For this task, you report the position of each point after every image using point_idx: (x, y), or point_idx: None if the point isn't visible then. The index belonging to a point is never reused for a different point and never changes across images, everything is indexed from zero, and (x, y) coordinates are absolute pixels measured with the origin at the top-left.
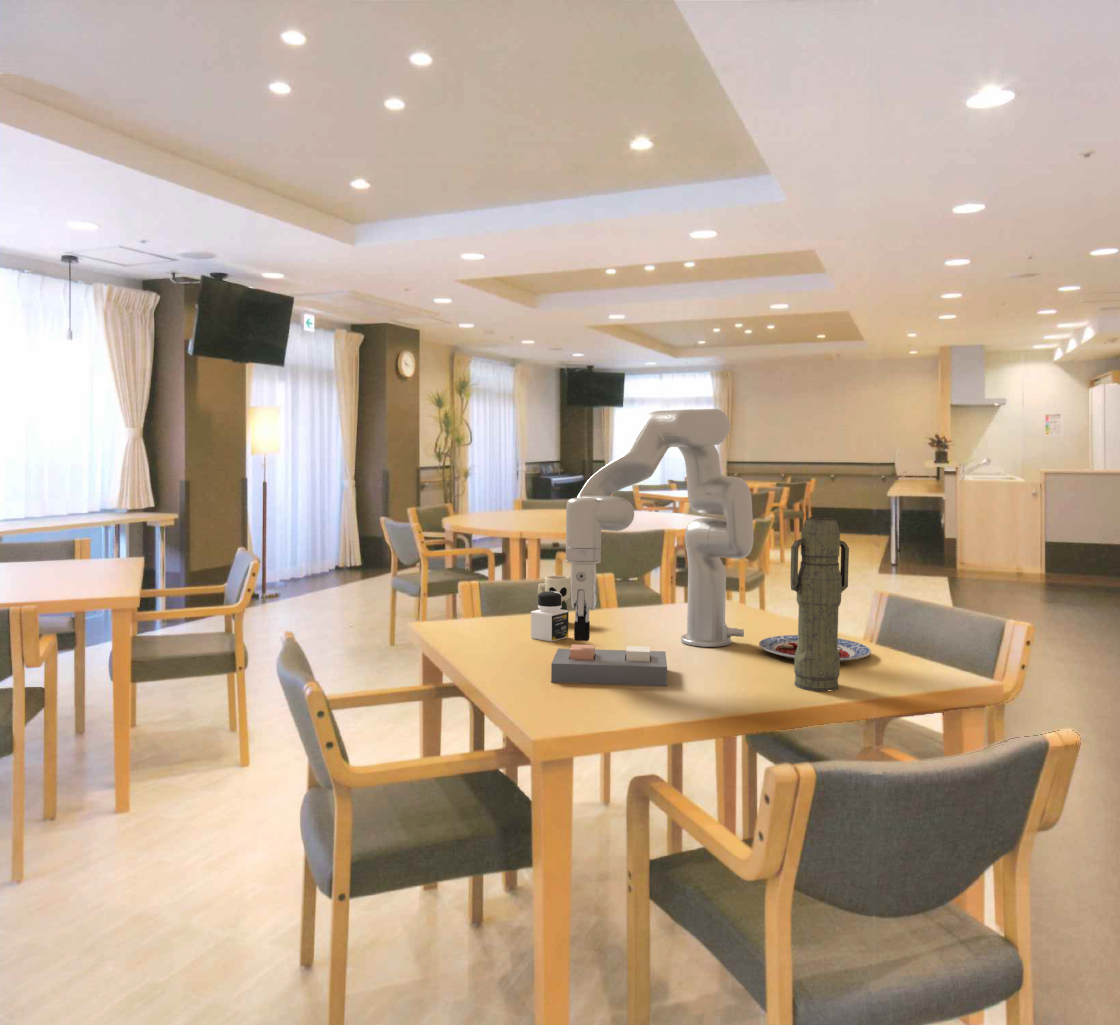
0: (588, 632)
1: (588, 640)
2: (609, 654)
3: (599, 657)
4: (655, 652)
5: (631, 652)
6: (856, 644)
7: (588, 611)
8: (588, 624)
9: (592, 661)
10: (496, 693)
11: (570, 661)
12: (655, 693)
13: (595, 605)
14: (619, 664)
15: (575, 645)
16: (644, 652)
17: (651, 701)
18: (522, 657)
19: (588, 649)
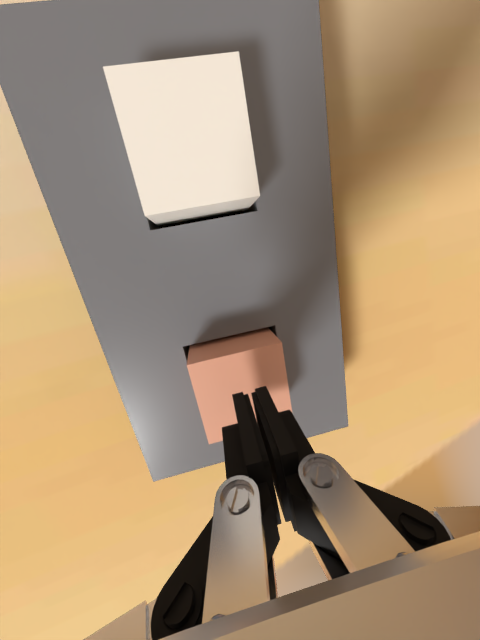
0: (275, 410)
1: (264, 386)
2: (173, 296)
3: (234, 319)
4: (31, 75)
5: (254, 170)
6: None
7: (263, 565)
8: (294, 445)
9: (297, 325)
10: (415, 453)
11: (314, 388)
12: (373, 92)
13: (306, 615)
14: (319, 220)
15: (221, 427)
16: (244, 92)
17: (450, 96)
18: (113, 537)
19: (274, 363)
